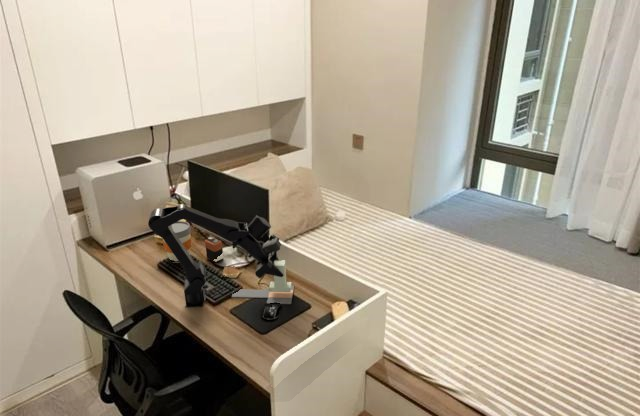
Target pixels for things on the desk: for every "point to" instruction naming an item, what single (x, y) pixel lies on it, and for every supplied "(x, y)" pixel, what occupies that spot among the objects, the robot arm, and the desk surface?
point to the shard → (231, 272)
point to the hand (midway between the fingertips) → (283, 273)
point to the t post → (280, 279)
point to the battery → (213, 248)
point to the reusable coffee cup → (180, 237)
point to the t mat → (266, 295)
